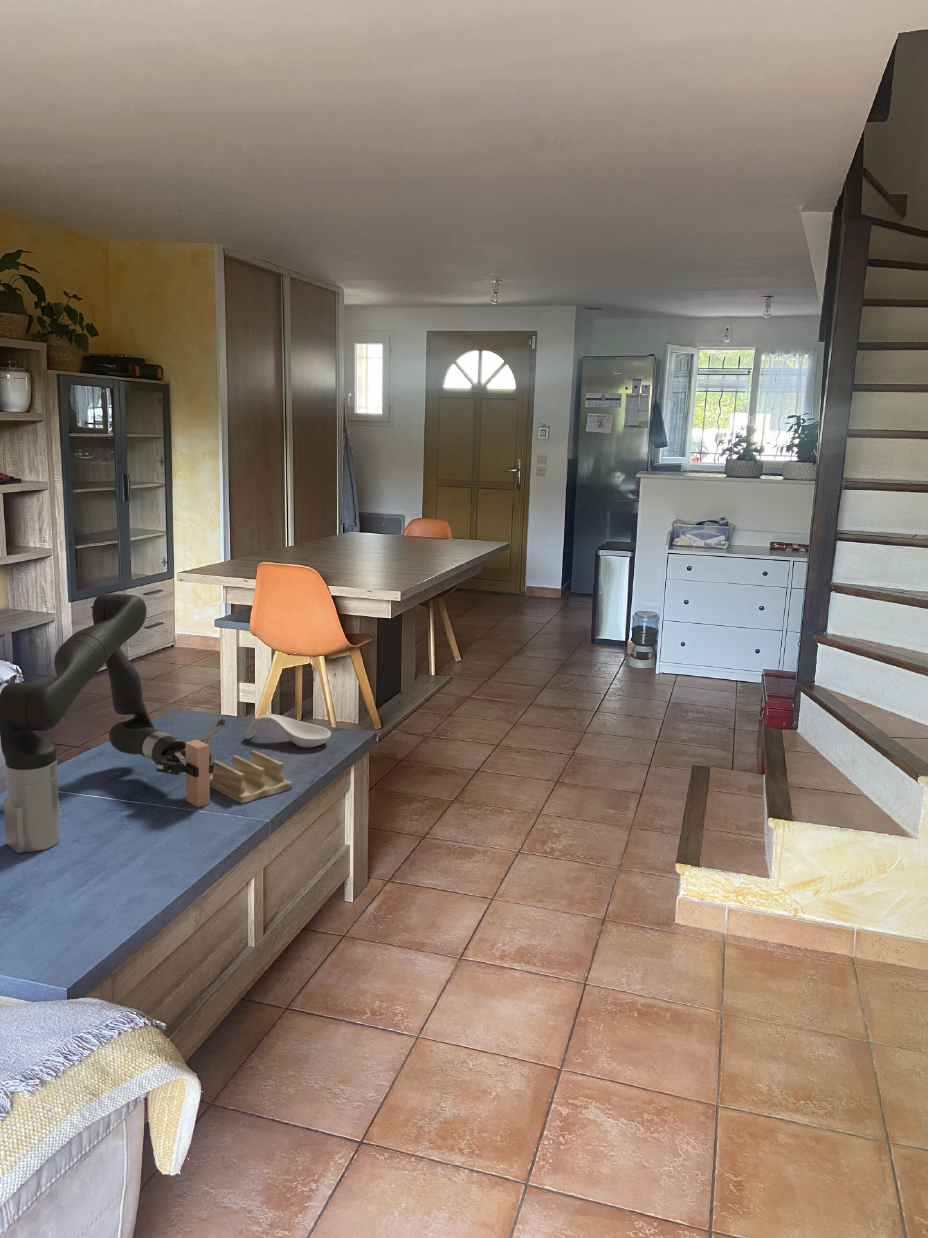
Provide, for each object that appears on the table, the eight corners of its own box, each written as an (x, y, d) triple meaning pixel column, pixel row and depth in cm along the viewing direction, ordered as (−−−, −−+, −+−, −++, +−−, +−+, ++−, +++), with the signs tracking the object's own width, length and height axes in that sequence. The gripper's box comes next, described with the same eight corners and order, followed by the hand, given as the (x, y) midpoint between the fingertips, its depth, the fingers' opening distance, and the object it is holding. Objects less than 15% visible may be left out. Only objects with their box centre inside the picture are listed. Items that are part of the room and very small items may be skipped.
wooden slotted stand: (241, 803, 207) (241, 778, 206) (204, 783, 217) (204, 759, 216) (292, 788, 217) (292, 764, 216) (253, 769, 228) (253, 747, 226)
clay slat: (198, 807, 204) (197, 748, 201) (186, 800, 207) (185, 742, 204) (209, 803, 206) (209, 745, 203) (198, 797, 209) (197, 739, 206)
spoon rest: (336, 740, 253) (336, 715, 252) (322, 754, 242) (322, 728, 240) (256, 731, 257) (256, 707, 256) (239, 745, 246) (239, 719, 244)
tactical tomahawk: (214, 750, 243) (214, 746, 243) (190, 747, 243) (190, 743, 243) (241, 725, 263) (241, 721, 263) (219, 722, 264) (219, 718, 264)
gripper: (137, 741, 209) (175, 762, 197) (192, 729, 219) (231, 748, 207) (138, 772, 210) (176, 794, 199) (192, 759, 220) (232, 779, 209)
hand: (204, 770), depth 203 cm, fingers closed on clay slat, 3 cm apart
